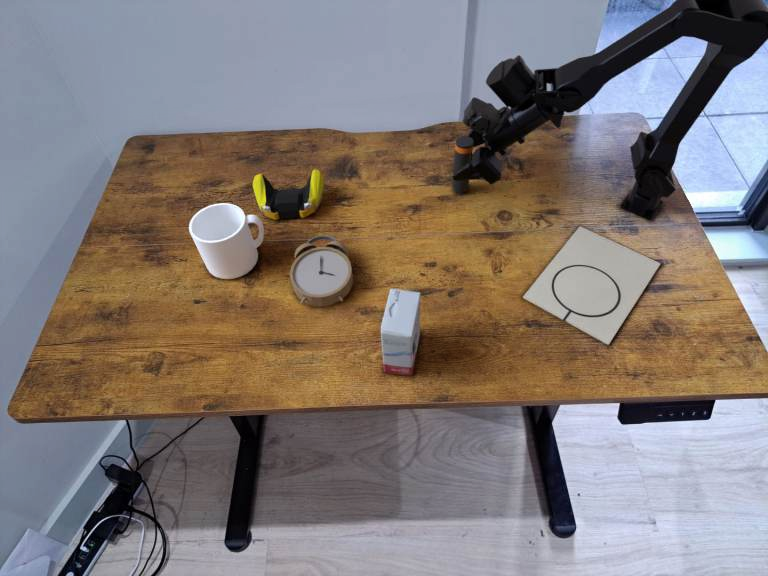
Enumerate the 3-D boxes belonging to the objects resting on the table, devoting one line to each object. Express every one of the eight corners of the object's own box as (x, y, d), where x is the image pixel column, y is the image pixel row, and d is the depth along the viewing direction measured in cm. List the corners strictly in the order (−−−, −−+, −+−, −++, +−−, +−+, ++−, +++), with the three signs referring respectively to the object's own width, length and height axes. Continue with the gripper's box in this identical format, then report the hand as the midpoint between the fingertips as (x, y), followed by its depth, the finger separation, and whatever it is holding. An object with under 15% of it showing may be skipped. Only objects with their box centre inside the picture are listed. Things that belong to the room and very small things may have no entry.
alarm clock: (288, 301, 89) (289, 229, 96) (293, 313, 93) (294, 244, 100) (352, 296, 89) (349, 225, 96) (355, 308, 93) (351, 239, 100)
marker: (457, 182, 110) (462, 133, 100) (471, 189, 109) (477, 139, 99) (448, 191, 109) (452, 142, 99) (462, 198, 107) (467, 148, 97)
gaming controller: (258, 191, 111) (254, 223, 105) (251, 171, 107) (247, 203, 101) (326, 186, 111) (326, 218, 105) (323, 165, 107) (322, 198, 101)
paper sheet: (579, 227, 101) (580, 225, 100) (660, 264, 94) (661, 263, 94) (521, 299, 91) (522, 297, 90) (607, 346, 84) (608, 345, 83)
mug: (207, 284, 95) (188, 247, 87) (206, 247, 102) (188, 209, 93) (274, 270, 97) (262, 233, 89) (268, 234, 103) (256, 195, 95)
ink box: (412, 377, 82) (412, 338, 73) (382, 372, 83) (379, 332, 73) (420, 333, 87) (421, 291, 78) (392, 328, 88) (390, 286, 78)
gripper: (495, 62, 95) (434, 111, 105) (490, 121, 84) (422, 168, 94) (530, 103, 100) (468, 145, 111) (530, 163, 89) (461, 204, 99)
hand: (455, 164), depth 104 cm, fingers open, 9 cm apart
